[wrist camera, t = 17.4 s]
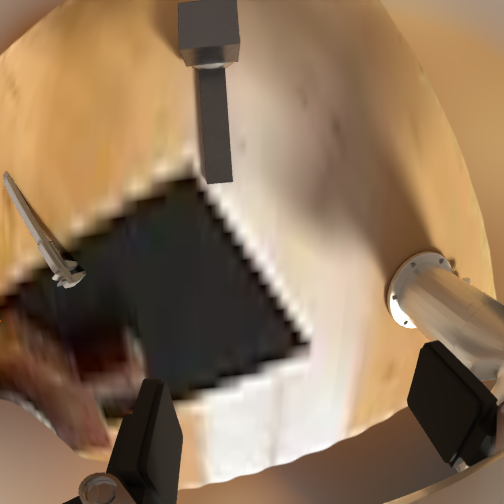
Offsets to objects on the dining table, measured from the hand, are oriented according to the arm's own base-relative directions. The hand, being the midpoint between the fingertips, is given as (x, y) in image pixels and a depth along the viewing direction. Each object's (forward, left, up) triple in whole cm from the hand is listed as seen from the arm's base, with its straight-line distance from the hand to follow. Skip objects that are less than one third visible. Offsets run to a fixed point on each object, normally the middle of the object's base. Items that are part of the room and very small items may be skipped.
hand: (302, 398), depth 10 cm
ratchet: (+3, -16, -30) cm, 34 cm away
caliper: (+29, -3, -31) cm, 43 cm away
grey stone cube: (+3, -23, -28) cm, 37 cm away
